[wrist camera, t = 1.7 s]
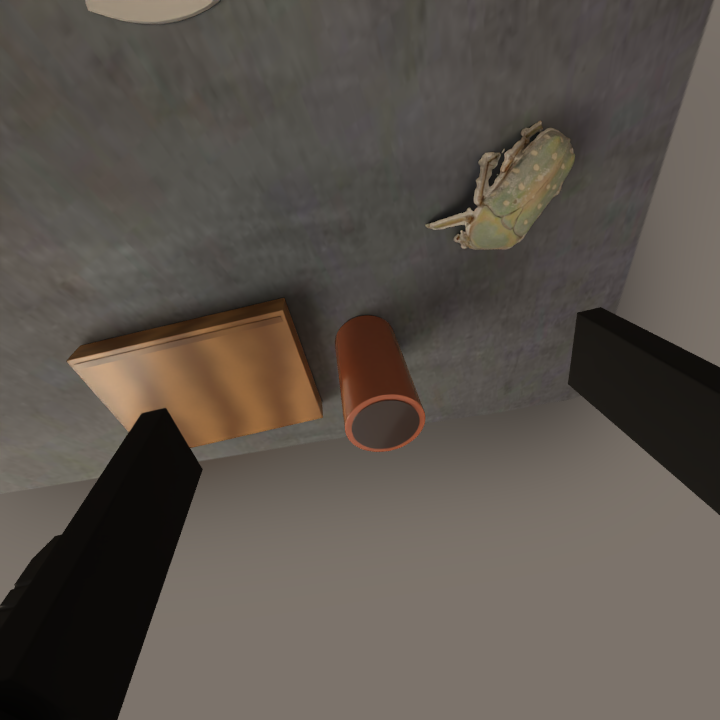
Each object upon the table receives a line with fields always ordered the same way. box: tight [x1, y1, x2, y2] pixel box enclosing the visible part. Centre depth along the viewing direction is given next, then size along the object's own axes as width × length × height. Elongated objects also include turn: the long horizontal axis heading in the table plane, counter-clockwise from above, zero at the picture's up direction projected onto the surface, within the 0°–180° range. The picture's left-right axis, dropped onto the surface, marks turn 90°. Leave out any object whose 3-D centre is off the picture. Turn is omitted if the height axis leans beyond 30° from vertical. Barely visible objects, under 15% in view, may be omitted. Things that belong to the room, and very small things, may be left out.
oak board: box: [67, 298, 323, 448], centre depth 37 cm, size 20×14×3 cm
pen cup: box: [335, 315, 425, 452], centre depth 33 cm, size 6×6×12 cm
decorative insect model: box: [425, 121, 575, 250], centre depth 29 cm, size 9×11×5 cm
